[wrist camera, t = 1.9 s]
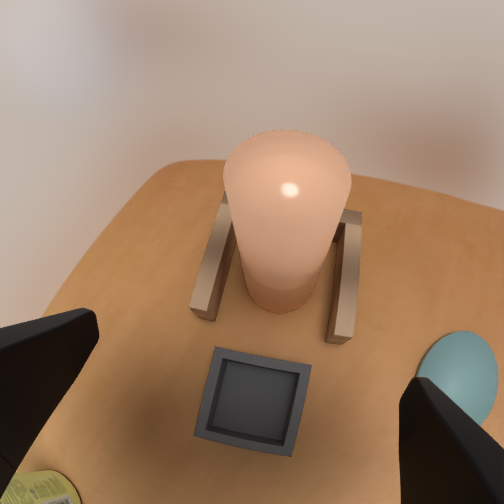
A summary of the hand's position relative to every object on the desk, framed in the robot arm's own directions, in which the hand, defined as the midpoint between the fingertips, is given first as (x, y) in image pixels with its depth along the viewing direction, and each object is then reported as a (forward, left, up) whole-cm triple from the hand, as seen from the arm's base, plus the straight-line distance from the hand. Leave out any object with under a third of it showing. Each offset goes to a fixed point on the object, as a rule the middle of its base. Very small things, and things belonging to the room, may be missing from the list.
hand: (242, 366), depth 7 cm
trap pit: (0, -2, -13) cm, 13 cm away
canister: (+2, +7, -13) cm, 15 cm away
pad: (+16, -3, -13) cm, 21 cm away
